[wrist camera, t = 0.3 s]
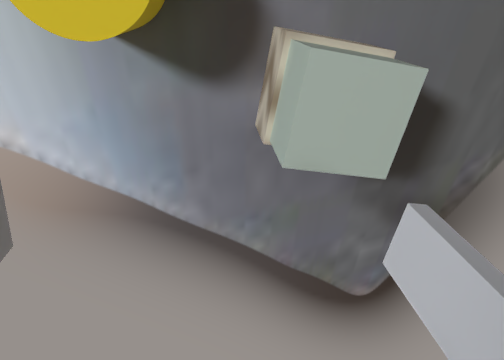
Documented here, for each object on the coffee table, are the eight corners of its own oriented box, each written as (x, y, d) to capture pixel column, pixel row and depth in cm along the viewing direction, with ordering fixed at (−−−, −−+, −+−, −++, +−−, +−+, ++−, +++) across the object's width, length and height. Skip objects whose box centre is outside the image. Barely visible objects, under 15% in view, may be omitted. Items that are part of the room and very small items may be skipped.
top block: (291, 39, 28) (311, 47, 23) (389, 57, 30) (429, 68, 24) (269, 140, 32) (282, 167, 27) (357, 151, 34) (385, 179, 28)
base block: (273, 25, 33) (286, 30, 28) (367, 44, 35) (396, 51, 30) (255, 124, 37) (263, 143, 32) (339, 135, 39) (360, 156, 34)
